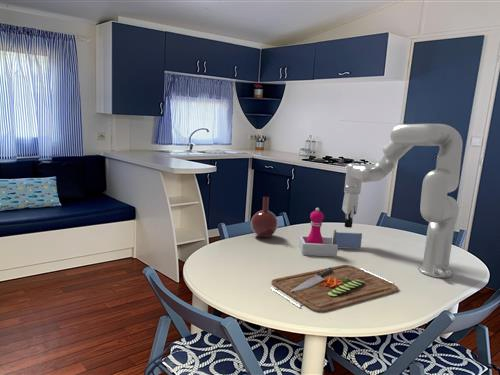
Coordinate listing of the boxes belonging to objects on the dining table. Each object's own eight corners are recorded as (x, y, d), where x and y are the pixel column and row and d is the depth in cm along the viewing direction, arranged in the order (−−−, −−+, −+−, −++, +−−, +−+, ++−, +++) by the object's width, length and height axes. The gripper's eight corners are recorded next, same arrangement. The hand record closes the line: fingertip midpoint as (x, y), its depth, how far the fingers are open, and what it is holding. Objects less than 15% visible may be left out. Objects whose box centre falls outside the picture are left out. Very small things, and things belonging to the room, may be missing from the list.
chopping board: (310, 317, 127) (311, 308, 127) (261, 284, 149) (262, 276, 149) (406, 290, 151) (407, 282, 151) (351, 266, 173) (352, 259, 173)
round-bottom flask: (250, 232, 212) (253, 193, 209) (276, 233, 212) (279, 195, 208) (249, 239, 199) (252, 198, 196) (277, 241, 199) (280, 200, 195)
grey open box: (336, 256, 182) (337, 245, 182) (302, 254, 182) (303, 243, 181) (330, 247, 195) (331, 237, 194) (298, 245, 194) (299, 235, 193)
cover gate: (359, 247, 196) (361, 231, 194) (360, 248, 195) (362, 231, 193) (331, 246, 195) (333, 229, 194) (332, 247, 194) (334, 230, 193)
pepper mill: (323, 254, 185) (327, 210, 181) (306, 253, 185) (310, 209, 181) (320, 248, 192) (324, 206, 188) (305, 247, 192) (308, 205, 188)
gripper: (341, 186, 204) (336, 222, 207) (348, 192, 189) (343, 231, 193) (356, 187, 204) (351, 223, 207) (364, 193, 189) (360, 232, 193)
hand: (348, 226), depth 200 cm, fingers closed
